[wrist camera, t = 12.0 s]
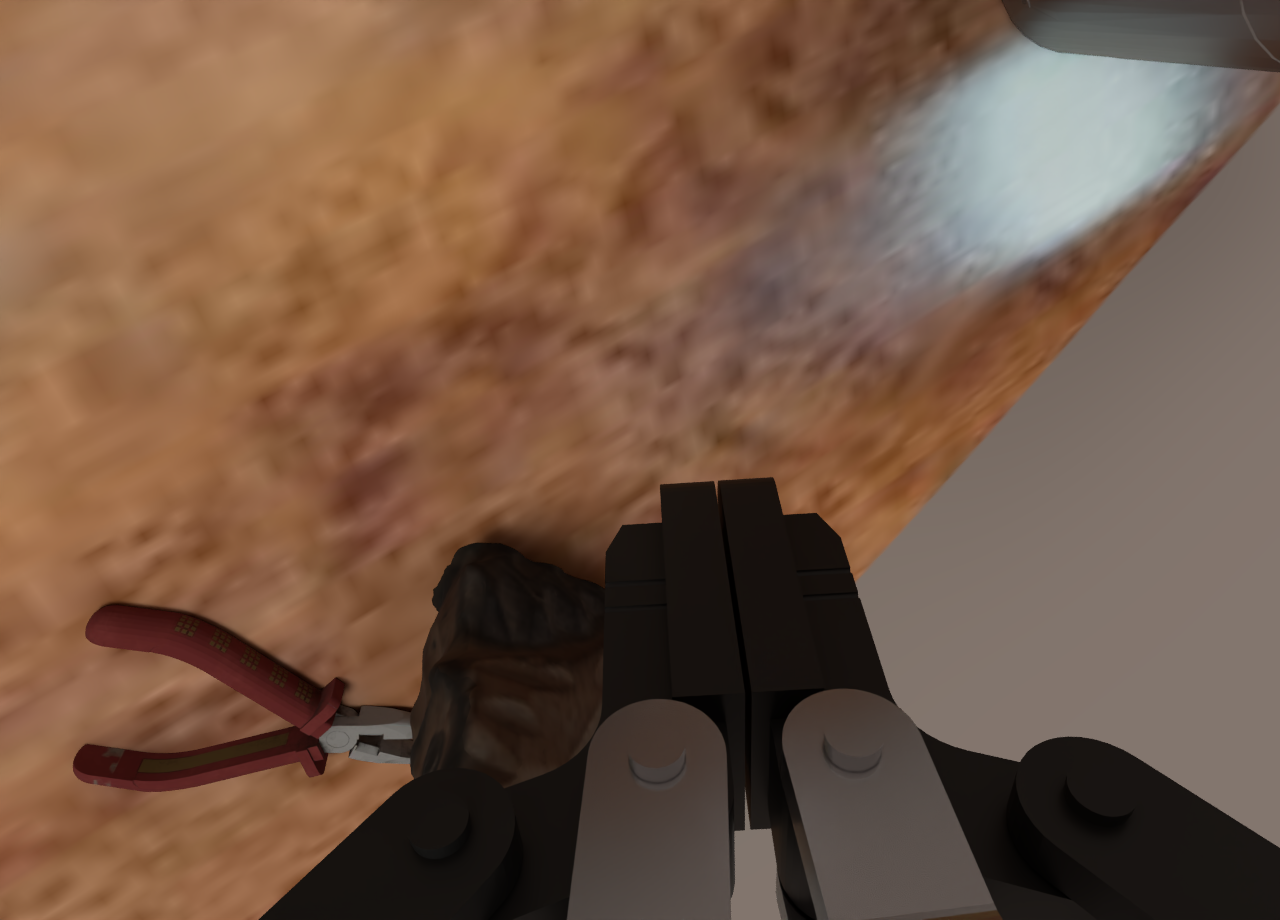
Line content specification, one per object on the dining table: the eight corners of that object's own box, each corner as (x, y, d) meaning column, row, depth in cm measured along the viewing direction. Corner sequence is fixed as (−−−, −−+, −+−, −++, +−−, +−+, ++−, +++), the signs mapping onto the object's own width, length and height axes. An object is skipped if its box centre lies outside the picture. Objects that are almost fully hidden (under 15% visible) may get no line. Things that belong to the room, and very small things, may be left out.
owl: (511, 738, 55) (521, 1084, 37) (344, 636, 49) (262, 984, 32) (656, 611, 52) (741, 921, 34) (494, 488, 47) (497, 781, 29)
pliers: (442, 799, 57) (440, 834, 54) (82, 755, 51) (62, 792, 49) (490, 655, 52) (490, 686, 50) (100, 589, 46) (78, 621, 44)
